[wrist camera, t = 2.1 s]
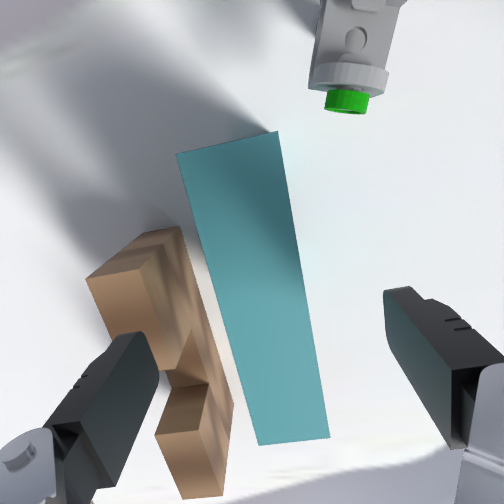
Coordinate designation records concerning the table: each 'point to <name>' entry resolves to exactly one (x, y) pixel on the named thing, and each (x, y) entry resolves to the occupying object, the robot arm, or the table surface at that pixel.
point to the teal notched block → (258, 282)
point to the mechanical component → (352, 51)
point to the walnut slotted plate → (173, 353)
